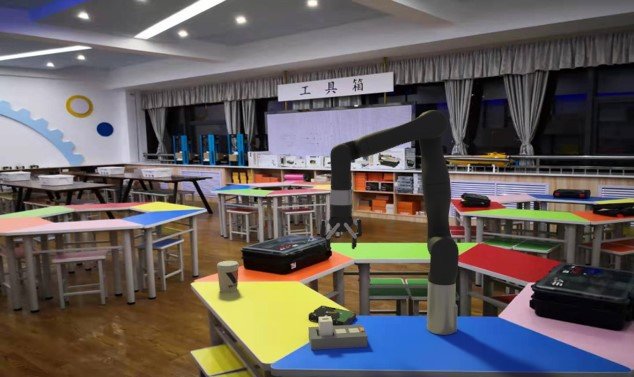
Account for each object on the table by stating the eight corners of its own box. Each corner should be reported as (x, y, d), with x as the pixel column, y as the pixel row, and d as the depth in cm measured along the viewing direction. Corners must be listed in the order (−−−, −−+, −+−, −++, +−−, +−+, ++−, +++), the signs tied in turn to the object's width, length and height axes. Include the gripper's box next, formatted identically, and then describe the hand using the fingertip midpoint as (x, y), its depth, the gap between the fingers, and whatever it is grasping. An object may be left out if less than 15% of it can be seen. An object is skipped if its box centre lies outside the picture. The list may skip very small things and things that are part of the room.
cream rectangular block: (330, 339, 145) (330, 316, 145) (332, 345, 141) (332, 321, 141) (318, 340, 145) (318, 316, 144) (320, 345, 141) (320, 321, 140)
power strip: (361, 334, 149) (361, 323, 149) (367, 346, 140) (367, 334, 140) (308, 337, 147) (308, 325, 147) (311, 349, 138) (311, 337, 138)
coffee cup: (229, 294, 188) (228, 267, 187) (213, 290, 193) (212, 264, 192) (243, 288, 196) (242, 262, 195) (227, 284, 201) (227, 259, 200)
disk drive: (308, 321, 161) (344, 329, 154) (307, 314, 161) (344, 321, 154) (321, 311, 170) (356, 318, 163) (321, 304, 170) (356, 311, 163)
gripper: (359, 200, 155) (359, 245, 156) (318, 201, 153) (319, 247, 155) (363, 203, 147) (363, 251, 149) (321, 204, 146) (321, 252, 147)
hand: (340, 249), depth 152 cm, fingers open, 8 cm apart
